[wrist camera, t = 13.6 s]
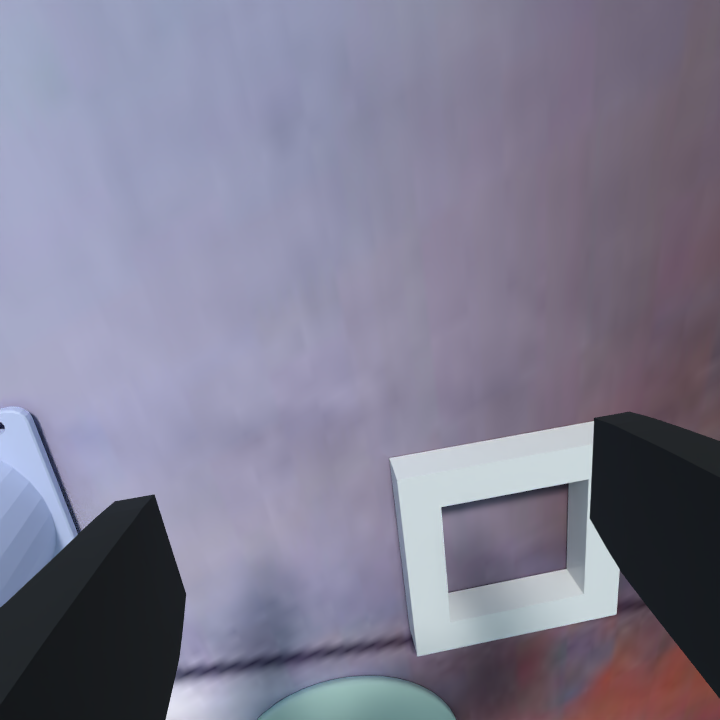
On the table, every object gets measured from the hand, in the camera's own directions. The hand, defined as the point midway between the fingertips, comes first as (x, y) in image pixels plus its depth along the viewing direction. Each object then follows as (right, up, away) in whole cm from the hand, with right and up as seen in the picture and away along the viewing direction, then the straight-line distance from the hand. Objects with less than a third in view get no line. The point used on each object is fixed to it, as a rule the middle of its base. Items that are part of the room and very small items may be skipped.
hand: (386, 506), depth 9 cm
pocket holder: (+5, -5, +14) cm, 16 cm away
